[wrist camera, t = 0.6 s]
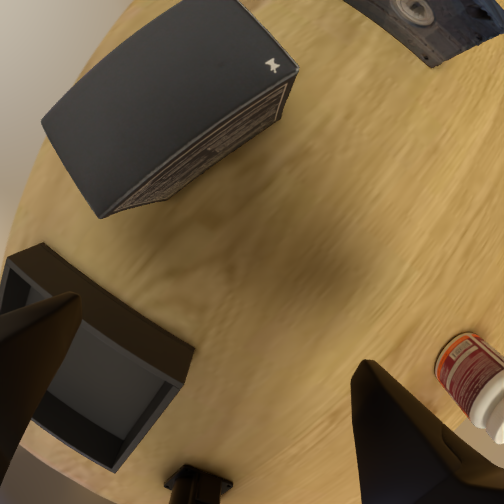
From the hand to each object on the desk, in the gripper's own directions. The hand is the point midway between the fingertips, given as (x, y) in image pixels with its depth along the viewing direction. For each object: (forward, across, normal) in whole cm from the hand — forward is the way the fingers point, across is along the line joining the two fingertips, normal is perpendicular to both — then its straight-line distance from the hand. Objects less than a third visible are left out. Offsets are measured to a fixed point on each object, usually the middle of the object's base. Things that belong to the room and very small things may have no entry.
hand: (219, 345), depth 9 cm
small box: (+16, +5, -5) cm, 17 cm away
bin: (+12, +12, +16) cm, 24 cm away
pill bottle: (+13, -24, +8) cm, 29 cm away
